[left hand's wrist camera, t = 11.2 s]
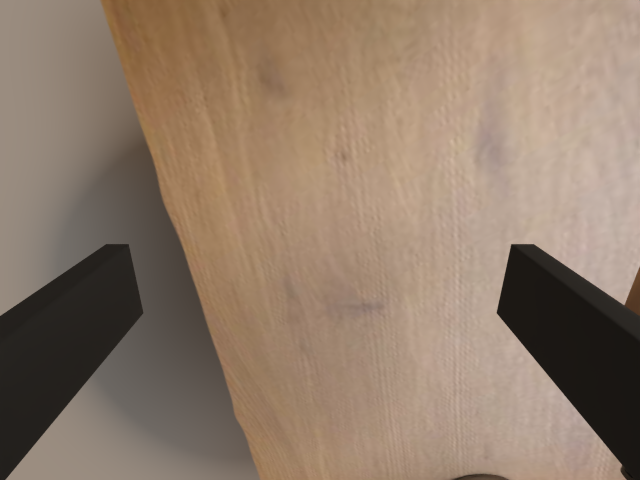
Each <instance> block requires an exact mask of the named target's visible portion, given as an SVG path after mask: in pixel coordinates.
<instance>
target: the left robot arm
mask: <svg viewBox="0 0 640 480" xmlns="http://www.w3.org/2000/svg"><path fill="white" fill-rule="evenodd" d="M142 314H143V309H142V305H141V300H140V295H139V291H138V286H137V282H136V277H135V272H134V267H133V263H132V258H131V253H130V249H129V245H128V244H106V245H104V246H103V247H102V248H100V249H99V250H97V251H96V252H94V253H93V254H91V255H90V256H88V257H87V258H85V259H84V260H82V261H81V262H79V263H78V264H76V265H75V266H73V267H72V268H71V269H69V270H68V271H66V272H65V273H63V274H62V275H60V276H59V277H57V278H56V279H54V280H53V281H51V282H50V283H48V284H47V285H45V286H44V287H42V288H41V289H40V290H38V291H37V292H35V293H34V294H32V295H31V296H29V297H28V298H26V299H25V300H23V301H22V302H20V303H19V304H17V305H16V306H14V307H13V308H11V309H10V310H8V311H7V312H6V313H4V314H3V315H1V316H0V480H5V479H6V478H7V477H8V476H9V475H10V473H11V472H12V471H13V470H14V469H15V467H16V466H17V465H18V464H19V463H20V461H21V460H22V459H23V458H24V457H25V455H26V454H27V453H28V452H29V450H30V449H31V448H32V447H33V446H34V444H35V443H36V442H37V441H38V440H39V438H40V437H41V436H42V435H43V434H44V432H45V431H46V430H47V429H48V428H49V426H50V425H51V424H52V423H53V421H54V420H55V419H56V418H57V417H58V415H59V414H60V413H61V412H62V411H63V409H64V408H65V407H66V406H67V405H68V403H69V402H70V401H71V400H72V398H73V397H74V396H75V395H76V394H77V392H78V391H79V390H80V389H81V388H82V386H83V385H84V384H85V383H86V382H87V380H88V379H89V378H90V377H91V376H92V374H93V373H94V372H95V371H96V369H97V368H98V367H99V366H100V365H101V363H102V362H103V361H104V360H105V359H106V357H107V356H108V355H109V354H110V353H111V351H112V350H113V349H114V348H115V347H116V345H117V344H118V343H119V342H120V340H121V339H122V338H123V337H124V336H125V335H126V333H127V332H128V331H129V330H130V328H131V327H132V326H133V325H134V324H135V322H136V321H137V320H138V319H139V318H140V316H141V315H142ZM497 314H498V315H499V316H500V318H501V319H502V320H503V321H504V322H505V324H506V325H507V326H508V327H509V328H510V330H511V331H512V332H513V333H514V335H515V336H516V337H517V338H518V339H519V341H520V342H521V343H522V344H523V345H524V347H525V348H526V349H527V350H528V351H529V353H530V354H531V355H532V356H533V357H534V359H535V360H536V361H537V362H538V364H539V365H540V366H541V367H542V368H543V370H544V371H545V372H546V373H547V374H548V376H549V377H550V378H551V379H552V380H553V382H554V383H555V384H556V385H557V386H558V388H559V389H560V390H561V391H562V392H563V394H564V395H565V396H566V397H567V399H568V400H569V401H570V402H571V403H572V405H573V406H574V407H575V408H576V409H577V411H578V412H579V413H580V414H581V415H582V417H583V418H584V419H585V420H586V421H587V423H588V424H589V425H590V426H591V428H592V429H593V430H594V431H595V432H596V434H597V435H598V436H599V437H600V438H601V440H602V441H603V442H604V443H605V444H606V446H607V447H608V448H609V449H610V450H611V452H612V453H613V454H614V455H615V457H616V458H617V459H618V460H619V461H620V463H621V464H622V465H623V466H624V467H625V469H626V470H627V471H628V472H629V473H630V475H631V476H632V477H633V478H634V479H635V480H640V316H639V315H637V314H636V313H634V312H633V311H632V310H630V309H629V308H627V307H626V306H624V305H623V304H621V303H620V302H618V301H617V300H615V299H614V298H612V297H611V296H609V295H608V294H606V293H605V292H603V291H602V290H601V289H599V288H598V287H596V286H595V285H593V284H592V283H590V282H589V281H587V280H586V279H584V278H583V277H581V276H580V275H578V274H577V273H575V272H574V271H572V270H571V269H569V268H568V267H567V266H565V265H564V264H562V263H561V262H559V261H558V260H556V259H555V258H553V257H552V256H550V255H549V254H547V253H546V252H544V251H543V250H541V249H540V248H538V247H537V246H536V245H534V244H511V249H510V253H509V258H508V263H507V267H506V272H505V277H504V281H503V286H502V291H501V295H500V300H499V305H498V309H497Z"/></svg>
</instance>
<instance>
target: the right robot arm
mask: <svg viewBox="0 0 640 480" xmlns="http://www.w3.org/2000/svg"><path fill="white" fill-rule="evenodd" d="M621 473H622V474H623V476H624V477H625V478H626V479H627V480H635V479H634V478H633V477H632V476H631V475H630V473H629V472H628V471H627V470H626V469H625V467H624V466H623V465H622V467H621ZM457 480H508V479H506V478H503V477H500V476H496V475H487V474H480V475H471V476H466V477H462V478H459V479H457Z"/></svg>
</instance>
